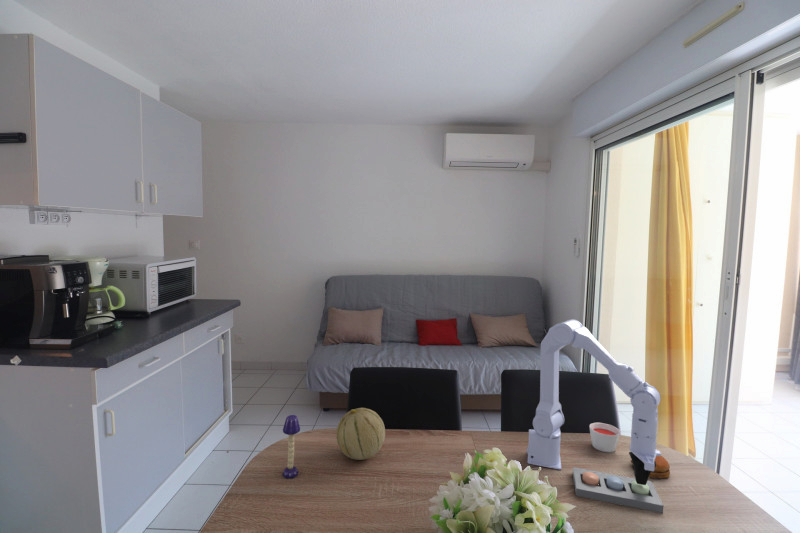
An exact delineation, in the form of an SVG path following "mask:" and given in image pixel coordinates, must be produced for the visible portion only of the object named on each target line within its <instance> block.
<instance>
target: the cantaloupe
mask: <svg viewBox="0 0 800 533" xmlns="http://www.w3.org/2000/svg"><path fill="white" fill-rule="evenodd" d="M335 436H336V442H337V445H338V448H339V450H340V451H341V452H342V453H343V454H344V455H345V456H346V457H348V458H349V459H351V460H359V461H361V460H363V461H364V460H366V459H369V458H372V457H374V456H375V455H377V454H378V453H379V451H380V450H381V448H382V446H383V444H384V441H385V438H386V428H385V424H384V421H383V419H382V418H381V417H380V415H379V414H378V413H377V412H376V411H374V410H372V409H370V408H366V407H358V408H354V409H350V410H349V411H347V412H346V413H345V414H344V415H343V416H342V417H341V419H340V420H339V423H338V424H337V428H336V435H335Z"/></svg>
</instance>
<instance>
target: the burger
mask: <svg viewBox="0 0 800 533" xmlns="http://www.w3.org/2000/svg"><path fill="white" fill-rule="evenodd" d="M655 462H656V467H655V468H654V471H651V473H650V475H649V478H657V479H658V478H659V479H667V478H669V477H670V476H671V471H670V463H669V462H668V460H667V459H666V458H665V457H664V456H662V455H661V456H656V458H655ZM630 463H631V464H632V465H633V463H632V459H631V460H630Z"/></svg>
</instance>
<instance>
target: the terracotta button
mask: <svg viewBox="0 0 800 533" xmlns="http://www.w3.org/2000/svg"><path fill="white" fill-rule="evenodd" d="M581 482H582V483H584V484H589V485H594V486H599V485H598V483H599V477H598V476H597V475H596V474H594V473H592V472H584V473H583V477H582V481H581Z"/></svg>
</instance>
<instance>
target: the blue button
mask: <svg viewBox="0 0 800 533" xmlns="http://www.w3.org/2000/svg"><path fill="white" fill-rule="evenodd" d="M623 483H624V482H623V481H622V480H621V479H619V478H617V477H614V476H609V477H607V483H606V488H609V489H614V490H620V491H623Z"/></svg>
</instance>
